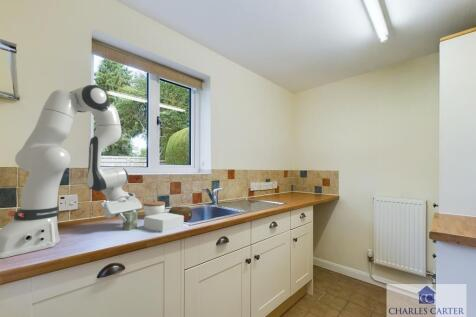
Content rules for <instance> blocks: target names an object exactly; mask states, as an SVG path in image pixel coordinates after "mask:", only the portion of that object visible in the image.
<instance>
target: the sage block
mask: <svg viewBox="0 0 476 317" xmlns="http://www.w3.org/2000/svg"><path fill="white" fill-rule="evenodd" d="M138 213H139V212H126V213H123V216H124V217H127V219H128V221H127V222H123V221H122V230H124V231H125V230H126V231H132V230H135V229H137V228H138V218H137V217H138Z"/></svg>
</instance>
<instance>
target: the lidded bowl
mask: <svg viewBox="0 0 476 317" xmlns="http://www.w3.org/2000/svg"><path fill="white" fill-rule="evenodd" d="M165 206H166V201H160V200H157V199H156V198H155V199H154V198H153V200H151V201H144V202H143V212H144V215H145V217H146V216H151V215H156V214H161V213H165V208H166V207H165Z"/></svg>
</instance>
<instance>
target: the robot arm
mask: <svg viewBox="0 0 476 317" xmlns="http://www.w3.org/2000/svg"><path fill="white" fill-rule="evenodd" d="M88 112H90V113H91V115H93V118H94V121H95V122H94V123H95V133H94V136H93V137H91V138H90V141H89V146H88V164H87V165H88V168H87V175H86V184H87V187H88V188H89V189H90V190H92V191H94V192H98V193H99V192H101V193H102V194H103V195H104V196H105V198H106V200H103V201H101V202H100V206H101V207H102V211H103V213H104V216H105V217H106V218H107V219H111V218H115V217H116V218H117V217H118V219H120V220H121V221H122V223H123V222H127V221H128V219H127V217H124V216H123V213H126V212H138V213H139V212H140V211H141V210H142V209H143V205H142V203H141V202H140V200H139V199H138V197H136V195H135V193H133V192H128V191H124V189H123V188H122V187H124V186H125V184H127V182H128V180H129V174H128V172H127V169H125V168H124V167H123V166H116V167H115V166H114V167H111V168H110V167H109V168H104V169H102V168H101V163H102V153H103V151H104V150H105V149H106V148H108V147H110V146H111V145H113V144H115V143H117V142H118V141H119V140H120V138H122V126H121V118H120V115H119V111H118V109H117V107H116V106H115V105H113V104H112V103H111V100H110V99H109V95H108V93H107V91H106V90H105V89H104V88H103V87H101V86H100V85H95V84H89V85H86V86H80V87H78V88H76V89H74V90H72V91H67V90H62V89H55V90H54V91H52V92H51V93H50V94H49V96H48V97H47V99H46V101H45V102H44V105H43V106H42V109H41V112H40V114H39V117H38V120H37V121H36V125H35V127H34V129H32V132H31V133H30V135H29V136H28V138H27V139H26V141H25V143H24V144H23V146H22V147H21V149H20V150H19V151H18V152H17V153H16V154H15V157H14V160H15V164H16V165H17V166H18V167H19V168H21V169H22V170H24V171H26V172H29V173H28V176H27V179H26V181H25V183H24V185H23V186H22V188H21V199H20V208H19V209H18V210H16V211H15V210H9V211H8V212H7V216H9V217H13V220H12V221H10V222H8V223H7V224H5V225H4V226H3V227H1V228H0V259H3V258H4V259H5V258H9V257H13V256H18V255H23V254H27V253H31V252H35V251H36V252H37V251H41V250H43V249H49V248H53V247H56V244H58V243H59V242H60V241H61V236H60V233H59V228H58V219H59V206H58V202H59V190H60V189H59V188H60V184H61V181H62V178H63V176H64V173H65V170H66V169H68V167H69V166H70V164H71V159H72V158H71V154H70V153H69V151H68V150H66V149H65V148H63V147H61V145H63V143H64V141H66V140H67V139H68V138H69V135H70V133H71V130H72V127H73V124H74V121H75V118H76V114H77V113H88ZM137 219H138V216H137Z"/></svg>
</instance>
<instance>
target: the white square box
mask: <svg viewBox="0 0 476 317" xmlns="http://www.w3.org/2000/svg"><path fill="white" fill-rule="evenodd" d="M143 220H144V221H143V228H144V229H147V230H151V231H154V232H159V231H160V232H159V233H165V232H164V231H166V232H168V231H167V230H169V231H172V230H171V229H173V230H176V229H179V227H180V228H182V227H184V223H185V222H184V216H183V215H177V214H171V213H169V212H163V213H161V214H156V215H151V216H146V215H145V216H144V217H143ZM175 228H176V229H175Z"/></svg>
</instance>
